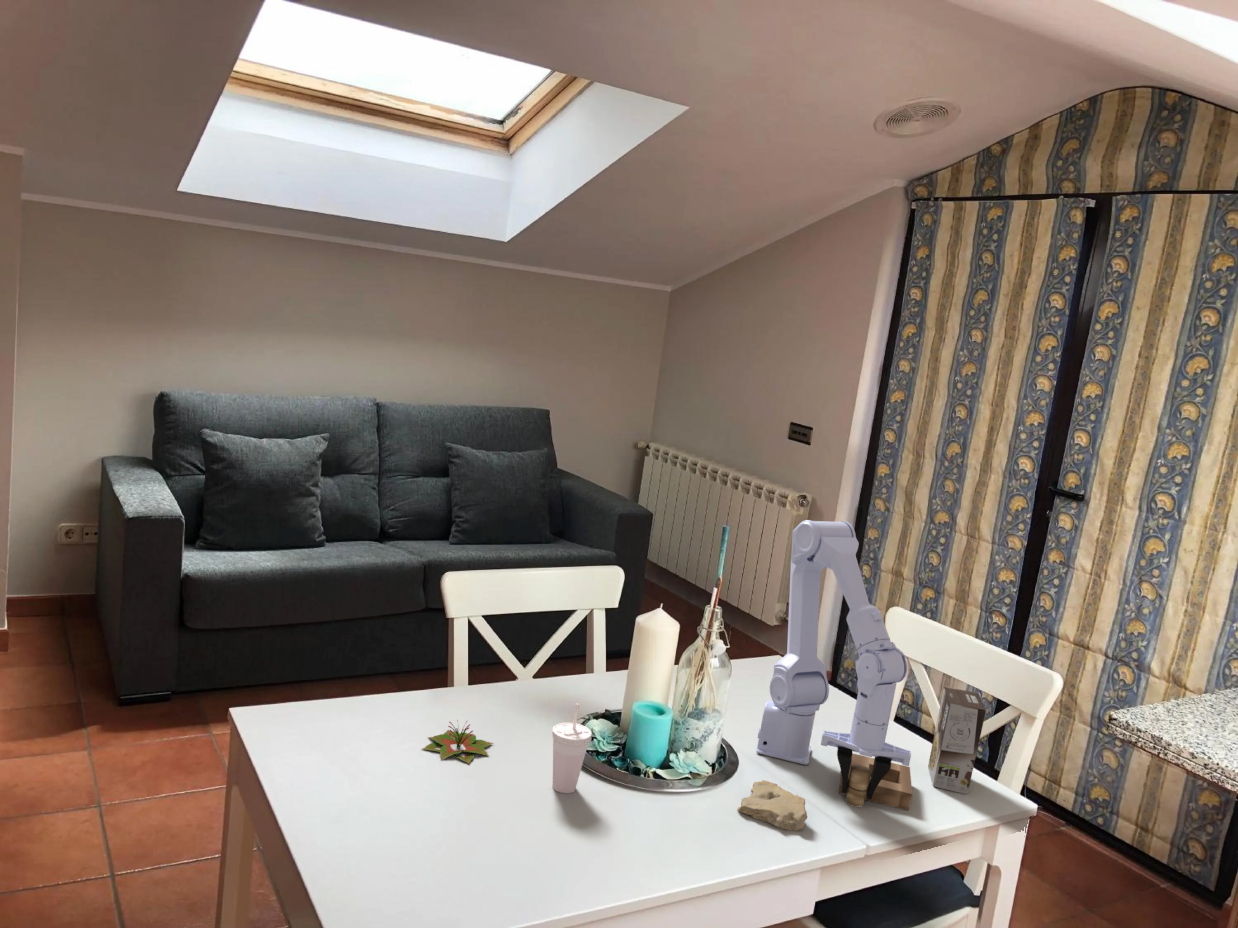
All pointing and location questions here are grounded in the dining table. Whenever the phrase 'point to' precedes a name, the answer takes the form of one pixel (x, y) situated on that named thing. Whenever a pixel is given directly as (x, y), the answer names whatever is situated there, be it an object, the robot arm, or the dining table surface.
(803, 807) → the stone
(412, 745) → the dining table surface
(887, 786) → the board
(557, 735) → the smoothie
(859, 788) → the peg
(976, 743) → the coffee box
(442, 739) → the lily flower
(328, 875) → the dining table surface
